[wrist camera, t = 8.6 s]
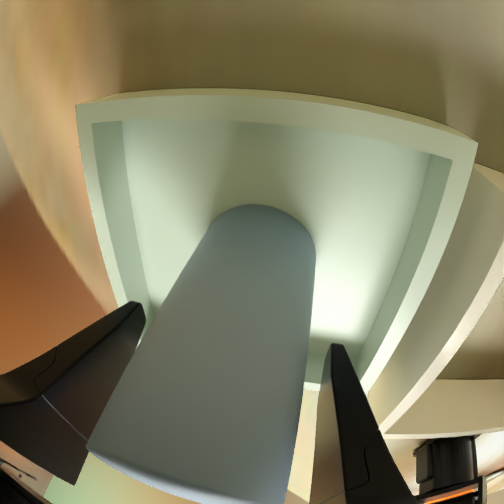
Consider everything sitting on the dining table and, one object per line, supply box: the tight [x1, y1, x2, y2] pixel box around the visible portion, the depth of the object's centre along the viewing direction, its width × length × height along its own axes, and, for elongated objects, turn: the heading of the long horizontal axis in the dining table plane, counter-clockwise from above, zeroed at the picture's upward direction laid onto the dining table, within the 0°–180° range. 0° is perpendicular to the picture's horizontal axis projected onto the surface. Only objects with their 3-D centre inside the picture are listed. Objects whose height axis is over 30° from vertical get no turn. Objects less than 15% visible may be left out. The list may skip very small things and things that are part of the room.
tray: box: [75, 88, 479, 395], centre depth 13 cm, size 14×14×3 cm
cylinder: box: [86, 204, 316, 504], centre depth 9 cm, size 5×5×10 cm
